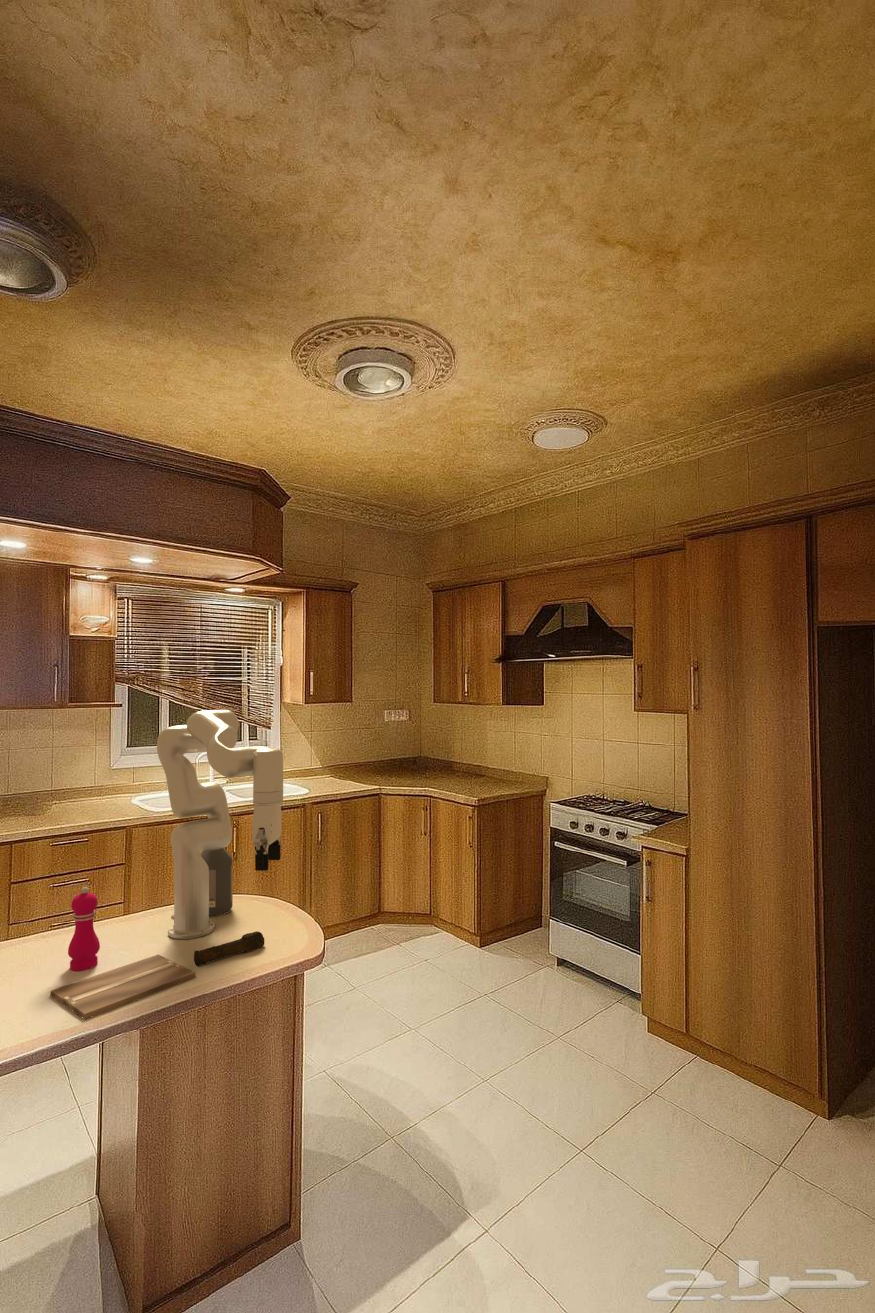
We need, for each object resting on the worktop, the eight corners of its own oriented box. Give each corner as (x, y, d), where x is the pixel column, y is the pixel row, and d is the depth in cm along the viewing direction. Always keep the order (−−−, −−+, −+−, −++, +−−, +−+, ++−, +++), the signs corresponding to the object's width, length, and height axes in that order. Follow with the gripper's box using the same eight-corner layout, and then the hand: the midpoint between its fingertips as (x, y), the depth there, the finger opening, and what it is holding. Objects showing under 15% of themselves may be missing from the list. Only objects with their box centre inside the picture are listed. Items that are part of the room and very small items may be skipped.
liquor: (219, 905, 216) (220, 812, 217) (235, 910, 210) (236, 815, 211) (194, 912, 209) (194, 816, 210) (210, 918, 203) (210, 820, 204)
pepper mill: (94, 958, 174) (95, 881, 175) (103, 966, 169) (104, 886, 170) (63, 966, 169) (65, 887, 170) (72, 975, 164) (73, 893, 165)
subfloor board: (50, 996, 153) (50, 990, 153) (158, 959, 173) (158, 954, 173) (84, 1019, 141) (84, 1013, 141) (195, 977, 162) (195, 972, 162)
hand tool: (198, 969, 167) (198, 950, 167) (192, 964, 170) (192, 946, 170) (268, 950, 179) (268, 932, 179) (262, 945, 182) (262, 928, 182)
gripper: (265, 792, 178) (264, 856, 178) (241, 803, 161) (241, 874, 160) (292, 792, 178) (292, 856, 177) (271, 803, 161) (271, 874, 160)
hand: (268, 865), depth 169 cm, fingers open, 9 cm apart
